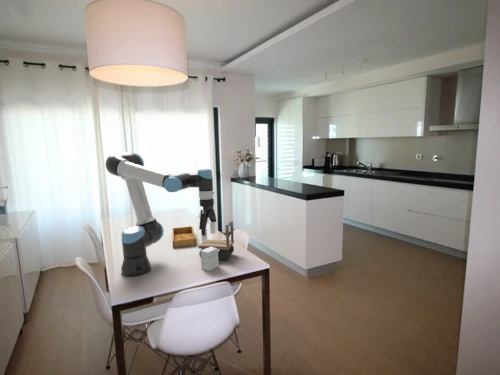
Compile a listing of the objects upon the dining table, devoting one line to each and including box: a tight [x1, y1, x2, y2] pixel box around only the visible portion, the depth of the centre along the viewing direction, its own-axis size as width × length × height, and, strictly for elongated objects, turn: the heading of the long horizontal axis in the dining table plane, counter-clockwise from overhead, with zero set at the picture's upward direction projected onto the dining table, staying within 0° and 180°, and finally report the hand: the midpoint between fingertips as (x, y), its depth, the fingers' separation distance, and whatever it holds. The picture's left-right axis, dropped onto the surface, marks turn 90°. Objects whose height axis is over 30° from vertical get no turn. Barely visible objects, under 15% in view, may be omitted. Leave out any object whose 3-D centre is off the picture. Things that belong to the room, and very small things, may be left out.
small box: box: [199, 247, 220, 272], centre depth 169 cm, size 8×6×10 cm
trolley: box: [198, 220, 235, 262], centre depth 183 cm, size 12×18×21 cm, turn 78°
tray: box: [171, 225, 197, 249], centre depth 220 cm, size 31×15×6 cm, turn 14°
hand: (208, 237), depth 167 cm, fingers open, 13 cm apart
